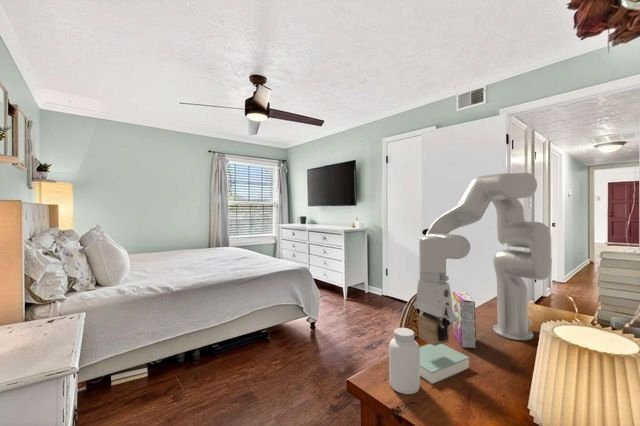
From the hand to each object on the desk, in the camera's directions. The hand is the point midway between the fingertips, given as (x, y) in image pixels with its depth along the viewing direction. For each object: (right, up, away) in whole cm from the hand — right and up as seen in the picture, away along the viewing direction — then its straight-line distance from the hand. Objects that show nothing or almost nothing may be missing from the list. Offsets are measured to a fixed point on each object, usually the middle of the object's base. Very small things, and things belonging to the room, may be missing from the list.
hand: (433, 334), depth 87 cm
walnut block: (0, -1, 0) cm, 1 cm away
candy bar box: (+17, -9, +16) cm, 25 cm away
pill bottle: (-12, -10, -9) cm, 18 cm away
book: (0, -10, 0) cm, 10 cm away
